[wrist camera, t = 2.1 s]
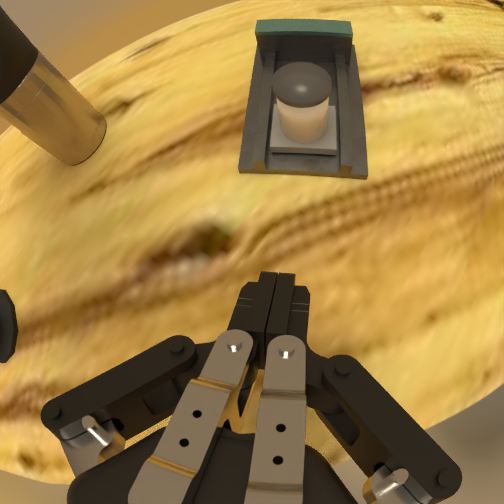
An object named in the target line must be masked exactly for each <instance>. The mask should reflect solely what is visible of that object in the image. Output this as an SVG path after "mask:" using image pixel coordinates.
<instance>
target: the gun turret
mask: <svg viewBox="0 0 504 504" xmlns="http://www.w3.org/2000/svg"><path fill="white" fill-rule="evenodd" d="M17 334H18V326H17V320H16V313H15V305H14V304H13V302H12V300H11V299H10V297H9V295H8V293H7V292H6V290H2V289H0V362H1V363H6V362H7V361H8V359H9V358H10V357H11V356H12V355H13V354H14V353H15V346H16V340H17Z"/></svg>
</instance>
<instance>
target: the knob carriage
mask: <svg viewBox="0 0 504 504" xmlns="http://www.w3.org/2000/svg"><path fill="white" fill-rule="evenodd" d="M331 86H332V81H331V77H330V75H329V74H328V73H327V71H326V70H324V69H323V68H322V67H320V66H318V65H316V64H312V63H308V62H294V63H290V64H287V65H284V66H282V67H281V68H279V69H278V70H277V71H276V72H275V73H274V75H273V77H272V88H273V92H274V95H275V96H276V98H277V104H274V109H273V119H272V130H271V140H270V149H271V152H281V153H307V154H325V155H336V151H337V142H336V110H335V106H328V101H329V96H330V93H331Z"/></svg>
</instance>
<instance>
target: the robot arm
mask: <svg viewBox="0 0 504 504" xmlns="http://www.w3.org/2000/svg"><path fill="white" fill-rule="evenodd" d="M0 116H1V117H2V118H3V119H5V120H6V121H8V122H9V123H10V124H12V125H13V126H14V127H16V128H17V129H19V130H20V131H21V132H22V134H24V135H25V136H27V137H28V138H29V139H31V140H32V141H34V142H35V143H36V144H38V145H39V146H41V147H42V148H44V149H45V150H46V151H48V152H49V153H51V154H52V155H53V156H55V157H56V158H58V159H61V160H62V161H63V162H65V163H66V164H69V165H75V164H78V163H80V162H82V161H84V160H85V159H87V158H88V157H89V156H90V155H91V154H92V153H93V152H94V151H95V150H96V149H97V147H98V146H99V144H100V143H101V141H102V139H103V137H104V134H105V130H106V122H105V119H104V117H103V116H102V115H101V114H100V113H99V112H98V111H97V110H96V109H95V108H94V107H93V106H92V105H91V104H90V103H89V102H88V101H87V100H86V99H85V98H84V97H83V96H82V95H81V94H80V93H79V92H78V91H77V90H76V89H75V88H74V87H73V85H72V84H71V83H70V82H69V81H68V80H67V79H66V78H65V77H64V76H63V75H62V74H61V73H60V72H59V71H58V70H57V69H56V68H55V67H54V66H53V65H52V64H51V63H50V62H49V61H48V60H47V59H46V58H45V57H44V56H43V55H42V54H41V53H40V51H39V50H38V49H37V48H36V47H35V46H34V45H33V44H32V43H31V42H30V41H29V39H28V38H27V37H26V36H25V35H24V33H23V32H22V31H21V30H20V29H19V28H18V27H17V26H16V25H15V24H14V22H13V21H12V20H11V19H10V18H9V16H8V15H7V14H6V13H5V11H4V10H3V9H2V8H1V6H0ZM309 305H310V293H309V291H308V289H307V287H306V286H295V274H290V273H279V274H278V273H277V272H265V271H261V273H260V277H259V280H258V282H248V283H247V284H246V285H245V286H244V287H243V288H242V289H241V291H240V294H239V297H238V300H237V303H236V306H235V308H234V311H233V314H232V317H231V320H230V323H229V326H228V328H227V331H226V332H224V333H222V334H221V335H220V336H219V337H218V338H217V340H216V341H213V342H210V343H202V344H194V342H193V341H192V340H191V339H190V338H189V337H186V336H182V335H176V336H172V337H170V338H168V339H166V340H164V341H162V342H160V343H159V344H157V345H155V346H153V347H151V348H149V349H148V350H146V351H144V352H142V353H140V354H138V355H136V356H135V357H133V358H131V359H129V360H127V361H125V362H123V363H122V364H120V365H118V366H116V367H114V368H112V369H110V370H108V371H106V372H105V373H103V374H101V375H99V376H97V377H95V378H93V379H91V380H89V381H87V382H85V383H83V384H81V385H79V386H78V387H76V388H74V389H72V390H70V391H68V392H66V393H64V394H62V395H60V396H58V397H56V398H54V399H52V400H50V401H48V402H47V403H46V404H45V405H44V407H43V409H42V411H41V420H42V423H43V424H44V426H45V427H46V428H48V429H49V430H50V431H51V432H52V433H53V434H54V435H55V436H56V437H57V438H58V439H59V440H60V442H61V445H62V447H63V450H64V452H65V455H66V457H67V459H68V462H69V464H70V466H71V468H72V470H73V473H74V475H75V477H76V478H75V479H74V480H73V481H72V483H71V485H70V487H69V489H68V493H67V504H358V503H357V501H356V500H355V499H354V497H353V496H352V495H351V493H350V492H349V491H348V489H347V488H346V487H345V485H344V484H343V483H342V481H341V480H340V479H339V477H338V476H337V474H336V473H335V471H334V470H333V469H332V467H331V466H330V464H329V463H328V461H327V460H326V459H325V458H324V457H323V456H322V455H321V454H320V453H319V452H318V451H316V450H315V449H313V448H312V447H310V446H308V445H306V444H305V431H306V406H308V407H311V408H313V409H315V412H316V414H317V415H318V416H319V418H320V419H321V420H322V422H323V423H324V424H325V425H326V427H327V428H328V429H329V430H330V432H331V433H332V434H333V435H334V437H335V438H336V439H337V440H338V442H339V443H340V444H341V445H342V447H343V448H344V449H345V450H346V452H347V453H348V454H349V455H350V457H351V458H352V459H353V460H354V461H355V463H356V464H357V465H358V466H359V467H360V469H361V470H362V471H363V472H364V474H365V475H366V476H367V477H368V479H367V480H366V482H365V483H364V485H363V489H362V493H363V497H364V499H365V501H366V503H367V504H436V503H438V502H441V501H443V500H445V499H447V498H449V497H451V496H452V495H454V494H455V493H456V491H458V489H459V487H460V485H461V482H462V473H461V470H460V468H459V466H458V465H457V464H456V463H455V462H454V461H453V460H452V459H451V458H450V457H449V456H448V455H447V454H446V453H445V452H444V451H443V450H442V449H441V447H440V446H439V445H438V444H437V443H436V442H435V441H434V440H433V439H432V438H431V437H430V436H429V435H428V434H427V433H426V432H425V431H424V430H423V429H422V428H421V427H420V426H419V425H418V423H417V422H416V421H415V420H414V419H413V418H412V417H411V416H410V415H409V414H408V413H407V412H406V411H405V410H404V409H403V408H402V407H401V406H400V405H399V404H398V403H397V402H396V401H395V399H394V398H393V397H392V396H391V395H390V394H389V393H388V392H387V391H386V390H385V389H384V388H383V387H382V386H381V385H380V384H379V383H378V382H377V381H376V380H375V379H374V378H373V377H372V375H371V374H370V373H369V372H368V371H367V370H366V369H365V368H364V367H363V366H362V365H361V364H360V363H359V362H358V361H357V360H356V359H355V358H353V357H351V356H348V355H335V356H333V357H331V358H329V359H328V358H325V357H322V356H320V355H317V354H316V353H314V352H313V351H312V350H311V349H310V348H309V346H308V344H307V328H308V317H309ZM258 369H264V370H265V374H264V382H263V390H262V392H261V396H260V402H259V410H258V418H257V425H256V433H251V434H241V430H242V423H243V419H244V416H245V414H246V411H247V408H248V405H249V402H250V399H251V396H252V393H253V390H254V387H255V380H256V377H257V373H258ZM172 414H173V415H172ZM170 415H172V417H171V419H170V421H169V423H168V425H167V426H166V427H163V428H161V429H159V430H157V431H155V432H153V433H152V434H150V435H149V436H147V437H145V438H144V439H142V440H140V441H139V442H137V443H135V444H134V445H132V446H130V447H128V448H127V449H125V450H124V448H125V441H126V440H128V439H130V438H132V437H134V436H136V435H137V434H139V433H141V432H143V431H145V430H146V429H148V428H150V427H152V426H153V425H155V424H157V423H159V422H160V421H162V420H164V419H165V418H167V417H169V416H170Z"/></svg>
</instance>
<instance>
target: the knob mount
mask: <svg viewBox="0 0 504 504" xmlns="http://www.w3.org/2000/svg"><path fill="white" fill-rule="evenodd" d="M255 35H256V39H257V49H256V55H255V61H254V67H253V73H252V79H251V86H250V92H249V98H248V105H247V111H246V118H245V124H244V131H243V138H242V145H241V152H240V159H239V166H238V170H239V172H240V173H266V174H293V175H313V176H329V177H343V178H355V179H367V176H368V168H367V150H366V136H365V124H364V114H363V104H362V96H361V88H360V80H359V73H358V66H357V60H356V53H355V47H354V45H352V38H353V32H352V27H351V22H349V21H337V20H319V19H269V20H257V24H256V29H255ZM294 62H308V63H312V64H316V65H318V66H320V67H322V68H323V69H324V70H326V71H327V73H328V74H329V75H330V77H331V81H332V86H331V93H330V96H329V101H328V106H335V110H336V142H337V151H336V155H325V154H307V153H281V152H271V149H270V140H271V130H272V119H273V109H274V104H277V98H276V96H275V95H274V92H273V88H272V77H273V75H274V73H275V72H276V71H277V70H278V69H279V68H281V67H282V66H284V65H287V64H290V63H294Z"/></svg>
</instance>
